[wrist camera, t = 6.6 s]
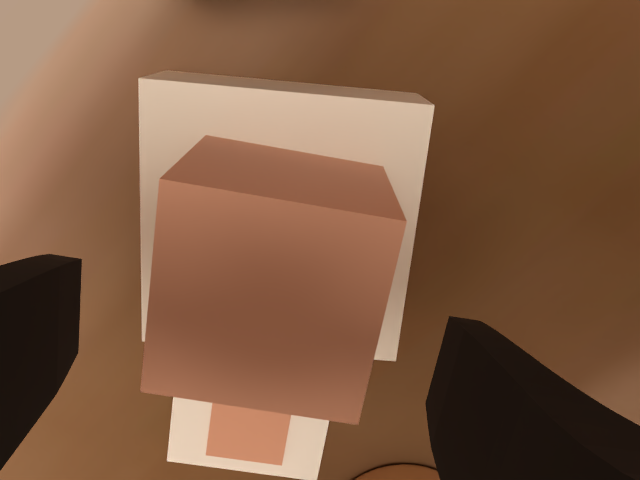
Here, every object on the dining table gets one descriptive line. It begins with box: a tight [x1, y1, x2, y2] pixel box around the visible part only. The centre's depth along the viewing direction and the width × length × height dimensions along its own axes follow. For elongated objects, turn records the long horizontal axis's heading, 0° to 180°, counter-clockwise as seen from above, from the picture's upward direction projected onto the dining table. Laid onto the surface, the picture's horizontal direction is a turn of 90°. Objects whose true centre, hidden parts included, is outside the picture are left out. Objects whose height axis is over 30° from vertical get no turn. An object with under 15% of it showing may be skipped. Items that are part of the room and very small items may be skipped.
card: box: [167, 397, 329, 480], centre depth 23 cm, size 6×4×1 cm
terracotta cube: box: [140, 135, 407, 425], centre depth 15 cm, size 5×5×5 cm
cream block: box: [138, 70, 435, 361], centre depth 19 cm, size 8×8×4 cm
